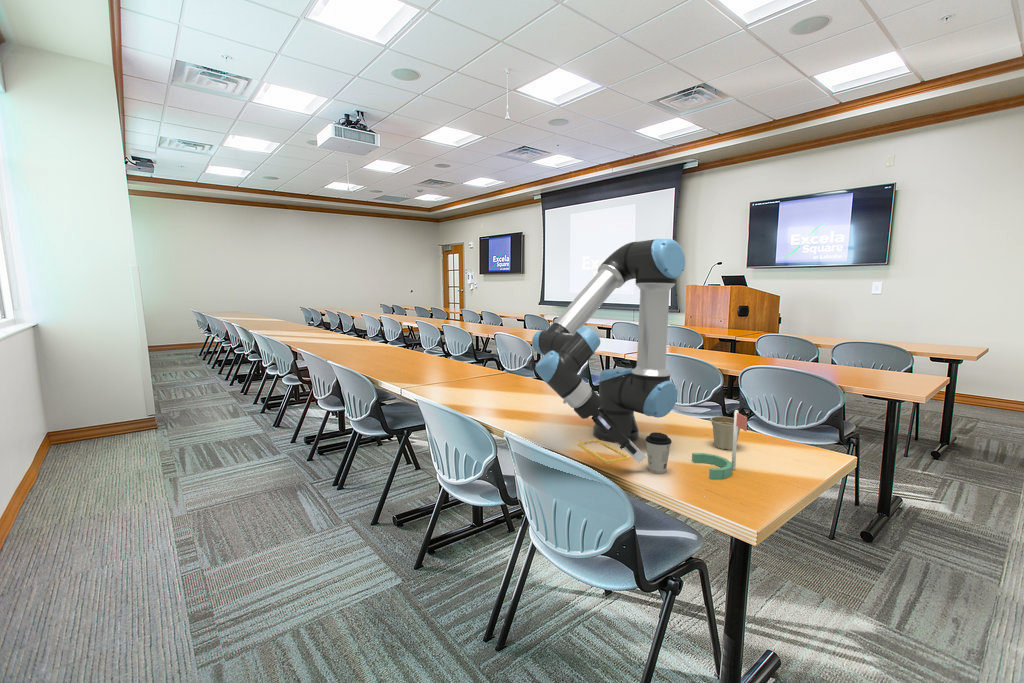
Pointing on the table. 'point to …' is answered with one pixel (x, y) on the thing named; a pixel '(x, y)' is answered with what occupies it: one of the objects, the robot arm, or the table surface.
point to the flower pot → (723, 432)
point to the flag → (738, 422)
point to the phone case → (600, 456)
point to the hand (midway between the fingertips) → (641, 459)
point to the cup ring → (715, 460)
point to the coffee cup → (658, 452)
